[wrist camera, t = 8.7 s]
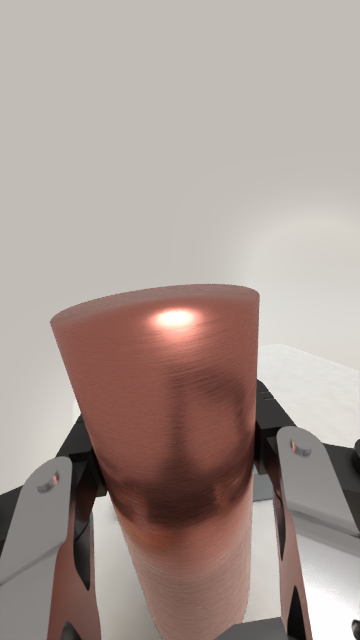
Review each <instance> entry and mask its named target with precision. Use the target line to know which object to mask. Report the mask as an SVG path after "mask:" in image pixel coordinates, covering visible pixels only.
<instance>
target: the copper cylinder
mask: <svg viewBox="0 0 360 640" xmlns="http://www.w3.org/2000/svg"><path fill="white" fill-rule="evenodd" d="M50 323H51V327H52V330H53V333H54V336H55V339H56V342H57V344H58V347H59V350H60V353H61V356H62V358H63V362H64V364H65V368H66V370H67V373H68V376H69V379H70V382H71V385H72V388H73V391H74V394H75V396H76V399H77V402H78V405H79V408H80V411H81V414H82V417H83V420H84V422H85V425H86V428H87V431H88V434H89V437H90V440H91V443H92V446H93V449H94V451H95V454H96V457H97V460H98V463H99V466H100V469H101V472H102V475H103V477H104V480H105V483H106V486H107V489H108V492H109V495H110V498H111V501H112V503H113V506H114V509H115V512H116V515H117V518H118V521H119V524H120V527H121V529H122V532H123V535H124V538H125V541H126V544H127V547H128V550H129V553H130V556H131V558H132V561H133V564H134V567H135V570H136V573H137V576H138V579H139V582H140V584H141V587H142V590H143V593H144V596H145V599H146V602H147V605H148V608H149V610H150V613H151V616H152V618H153V621H154V623H155V625H156V627H157V629H158V631H159V632H160V634H161V635H162V637H163V638H164V639H165V640H214V639H215V638H216V637H218V636H219V635H220V634H222V633H223V632H224V631H226V630H227V629H228V628H230V627H231V626H232V625H234V624H240V623H242V621H243V618H244V615H245V612H246V608H247V603H248V597H249V589H250V561H251V532H252V503H253V473H254V444H255V414H256V385H257V355H258V326H259V293H258V292H257V291H255V290H253V289H251V288H247V287H243V286H236V285H225V284H194V285H178V286H167V287H158V288H150V289H143V290H137V291H132V292H125V293H120V294H115V295H111V296H106V297H102V298H98V299H94V300H91V301H88V302H84V303H81V304H78V305H75V306H73V307H70V308H68V309H65V310H63V311H61V312H60V313H58V314H56V315H55V316H54V317H53V318H52V319H51V321H50Z"/></svg>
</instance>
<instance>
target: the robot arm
mask: <svg viewBox="0 0 360 640" xmlns="http://www.w3.org/2000/svg"><path fill="white" fill-rule="evenodd" d="M254 465H255V467H256V469H257V472H258V474H259V475H265V474H268V476H269V478H270V480H271V482H272V495H273V506H274V516H275V526H276V537H277V547H278V557H279V572H280V601H281V615H282V619H281V617H277V618H271V619H265V620H259V621H252V622H246V623H240V624H234V625H232V626H231V627H230V628H228V629H227V630H226V631H224V632H223V633H222V634H220V635H219V636H218V637H216V638H215V639H214V640H360V439H359V440H357V441H356V443H355V446H354V449H353V448H347V447H341V446H335V445H329V444H325V443H322V442H321V441H320V440H319V439H318V438H317V437H316V436H314V435H313V434H312V433H310V432H308V431H306V430H304V429H302V428H299V427H297V426H296V425H295V424H294V422H293V421H292V420H291V418H290V417H289V416H288V415H287V413H286V412H285V411H284V409H283V408H282V407H281V406H280V404H279V403H278V402H277V401H276V399H274V397H273V395H272V394H271V393H270V392H269V390H268V389H267V388H266V387H265V385H264V384H263V383H262V382H261V381H259V380H258V379H257V385H256V414H255V444H254ZM107 491H108V489H107V486H106V483H105V480H104V477H103V475H102V472H101V469H100V466H99V463H98V460H97V457H96V454H95V451H94V449H93V446H92V443H91V440H90V437H89V434H88V431H87V428H86V425H85V422H84V420H83V417H82V414H81V415H80V416H79V418H78V419H77V421H76V424H74V426H73V428H72V429H71V431H70V433H69V435H68V436H67V438H66V440H65V442H64V443H63V445H62V447H61V448H60V450H59V452H58V453H57V455H56V457H55V458H53V459H51V460H49V461H47V462H46V463H44V464H43V465H41V466H40V467H39V468H38V469H36V470H35V471H34V472H33V473H32V474H31V475H30V477H29V478H28V479H27V480H26V482H25V484H24V485H22V486H20V487H18V488H16V489H14V490H11V491H9V492H7V493H4V494H2V495H0V640H101V629H100V620H99V613H98V608H97V603H96V595H95V569H94V530H93V513H92V508H93V504H94V501H95V498H96V497H102V496H106V494H107Z"/></svg>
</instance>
